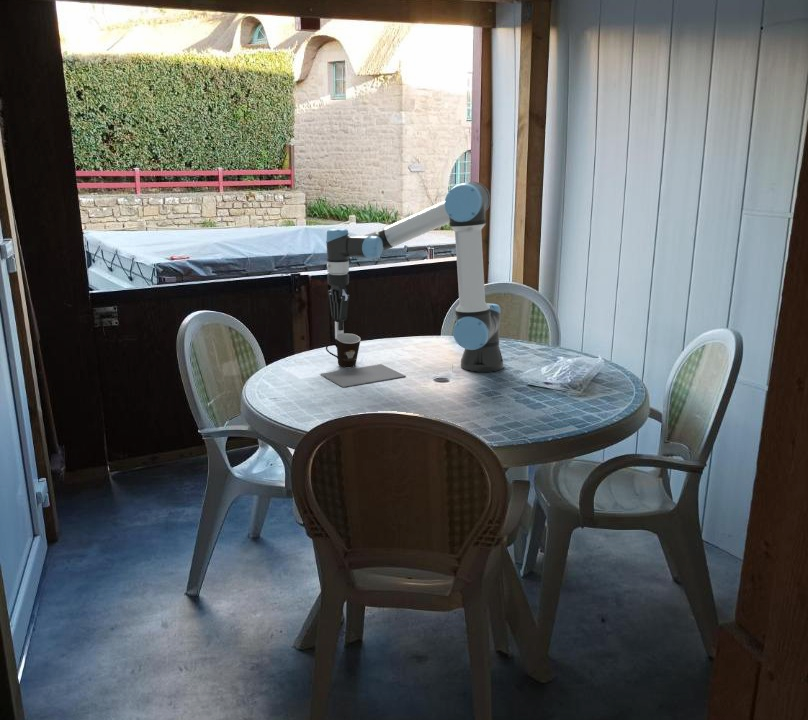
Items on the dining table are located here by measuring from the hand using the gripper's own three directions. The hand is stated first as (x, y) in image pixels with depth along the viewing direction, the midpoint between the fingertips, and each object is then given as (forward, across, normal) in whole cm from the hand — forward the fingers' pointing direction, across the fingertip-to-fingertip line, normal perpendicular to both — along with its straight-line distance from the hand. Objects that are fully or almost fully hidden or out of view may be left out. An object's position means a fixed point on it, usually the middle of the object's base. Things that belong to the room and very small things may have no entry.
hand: (339, 338), depth 272 cm
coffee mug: (+9, +2, 0) cm, 9 cm away
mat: (+9, +18, 0) cm, 20 cm away
